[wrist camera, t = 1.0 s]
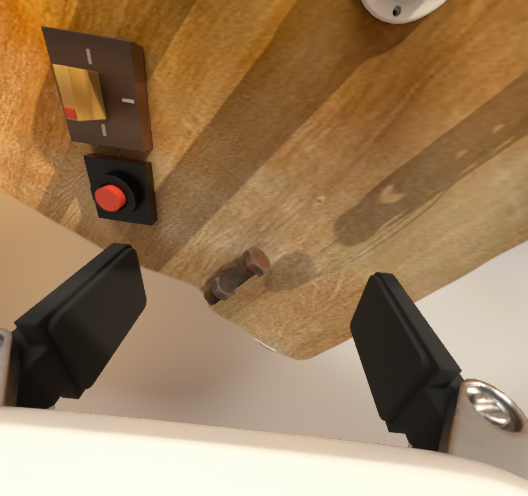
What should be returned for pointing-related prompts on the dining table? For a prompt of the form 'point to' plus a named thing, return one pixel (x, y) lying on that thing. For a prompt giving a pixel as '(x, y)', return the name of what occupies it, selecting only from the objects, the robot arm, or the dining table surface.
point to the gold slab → (80, 93)
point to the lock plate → (107, 87)
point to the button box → (124, 187)
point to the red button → (110, 197)
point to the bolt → (238, 275)
